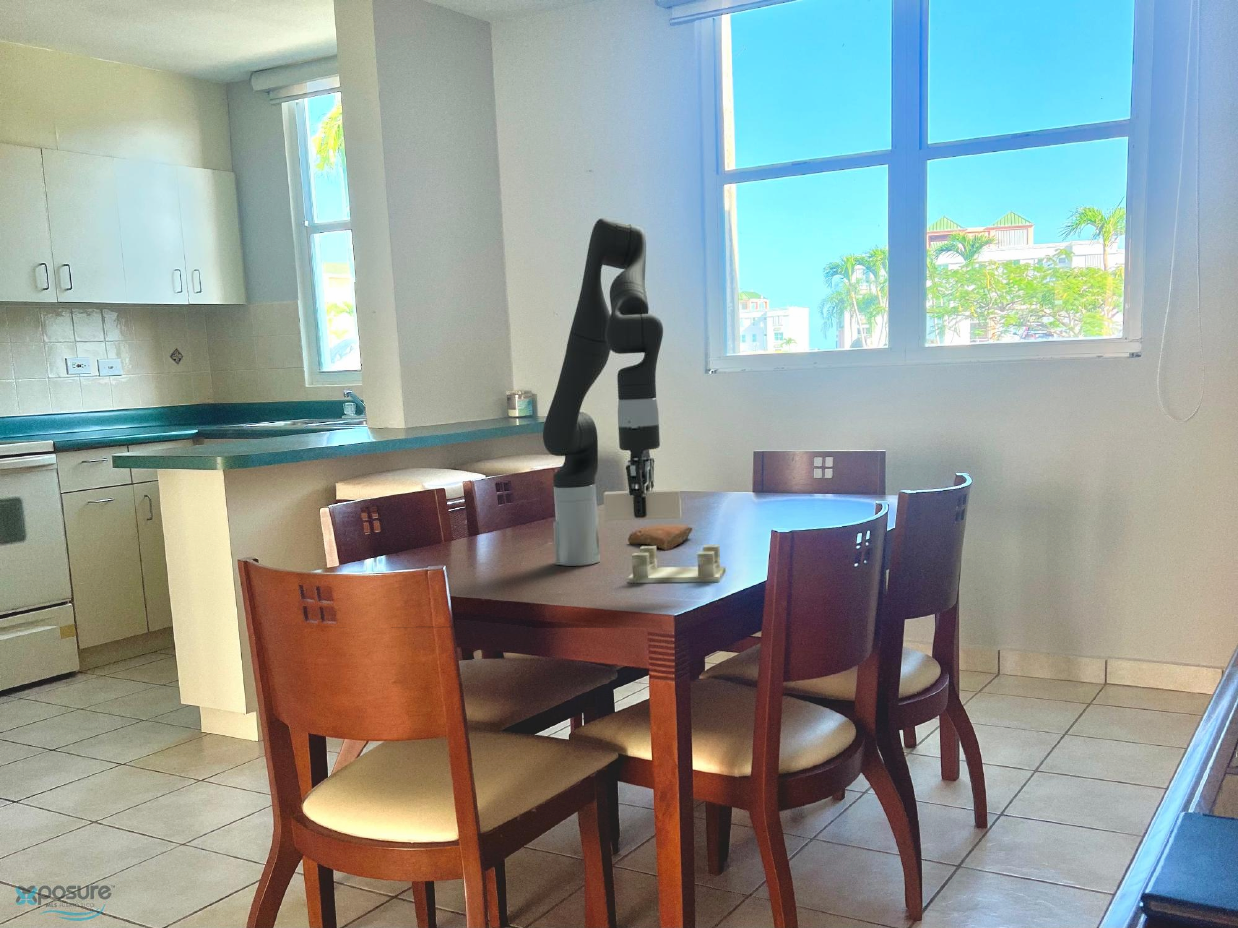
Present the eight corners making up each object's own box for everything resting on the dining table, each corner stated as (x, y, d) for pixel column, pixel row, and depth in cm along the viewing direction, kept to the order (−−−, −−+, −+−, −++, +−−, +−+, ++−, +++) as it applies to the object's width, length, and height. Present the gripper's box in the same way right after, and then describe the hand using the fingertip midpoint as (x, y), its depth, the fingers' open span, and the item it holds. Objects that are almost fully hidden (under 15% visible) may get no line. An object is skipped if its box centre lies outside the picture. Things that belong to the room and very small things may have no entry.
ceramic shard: (711, 521, 244) (662, 538, 236) (713, 546, 246) (665, 565, 237) (672, 508, 255) (624, 525, 247) (674, 532, 257) (627, 550, 249)
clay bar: (604, 520, 190) (603, 494, 189) (606, 518, 193) (605, 491, 193) (680, 518, 189) (679, 491, 188) (681, 515, 192) (679, 489, 192)
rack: (628, 582, 202) (626, 555, 202) (638, 572, 212) (637, 546, 212) (719, 581, 198) (717, 553, 198) (725, 571, 208) (724, 544, 207)
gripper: (627, 421, 197) (631, 510, 199) (609, 426, 183) (614, 521, 185) (665, 420, 195) (669, 509, 197) (650, 425, 182) (655, 521, 183)
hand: (642, 515), depth 191 cm, fingers closed on clay bar, 4 cm apart
